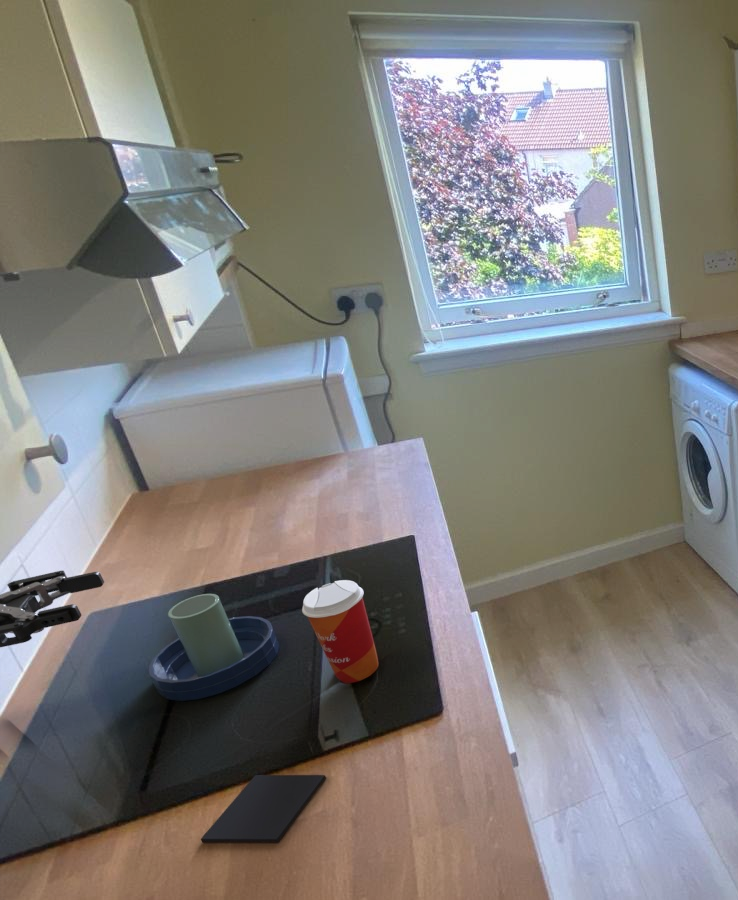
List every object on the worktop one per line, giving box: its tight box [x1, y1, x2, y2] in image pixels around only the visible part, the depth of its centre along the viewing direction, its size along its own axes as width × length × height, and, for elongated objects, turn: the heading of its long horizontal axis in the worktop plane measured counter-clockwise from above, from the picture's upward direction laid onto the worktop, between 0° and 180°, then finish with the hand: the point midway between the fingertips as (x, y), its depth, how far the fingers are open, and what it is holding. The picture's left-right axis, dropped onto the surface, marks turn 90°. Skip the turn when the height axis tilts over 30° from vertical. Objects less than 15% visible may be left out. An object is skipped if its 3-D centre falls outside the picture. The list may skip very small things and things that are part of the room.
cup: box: [167, 593, 244, 677], centre depth 109 cm, size 6×6×11 cm
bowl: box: [148, 615, 280, 702], centre depth 111 cm, size 15×15×4 cm
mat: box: [200, 774, 327, 844], centre depth 88 cm, size 9×9×1 cm
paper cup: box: [301, 579, 379, 684], centre depth 107 cm, size 8×8×14 cm
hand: (90, 594), depth 101 cm, fingers open, 8 cm apart
